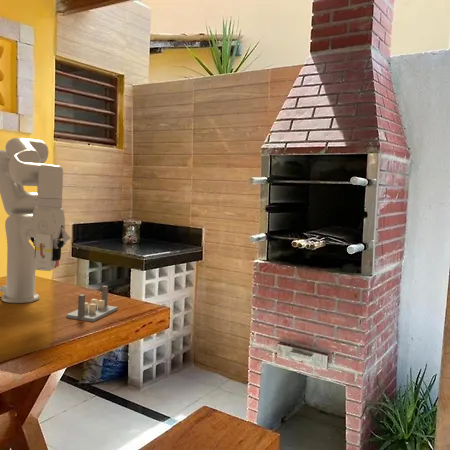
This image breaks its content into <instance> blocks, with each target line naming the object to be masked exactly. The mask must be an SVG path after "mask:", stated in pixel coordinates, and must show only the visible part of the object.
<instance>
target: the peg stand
mask: <svg viewBox="0 0 450 450" xmlns="http://www.w3.org/2000/svg"><path fill="white" fill-rule="evenodd" d="M108 293H109V286H108V285H102V286H101V299H99V300H98V298H91V299H90V303H89V302H86V295H85V294H82V293H81V294H79V295H78V296H77V299H78V300H77V301H78V303H77V309H76V310H74V311H71V312H69V313H67V314H66V315H65V316H66V317H65V318H67V319H74V320H80V321H86V322H96V321H97V320H100V319H102V318H104V317H106V316H108V315H109V314H111V313H114V312H115V311H118V310H119V308H118V306H113V305H108V295H109V294H108Z"/></svg>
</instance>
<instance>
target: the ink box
mask: <svg viewBox="0 0 450 450" xmlns="http://www.w3.org/2000/svg"><path fill="white" fill-rule="evenodd" d="M54 248H55V247H54V244H53V240H51V234H45V233H37V234H36V255H35V271H41V272H42V271H45V272H50V271H52V270H54V269H56V268H58V267H59V266H60V260H57V261H53V260H52V259H53V249H54Z"/></svg>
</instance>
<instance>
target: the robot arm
mask: <svg viewBox="0 0 450 450" xmlns="http://www.w3.org/2000/svg"><path fill="white" fill-rule="evenodd" d="M4 148H5V149H0V198H1V201H2V205H3V208H4V211H5V214H7V215H8V216H7V217H6V219H5V222H4V228H5V229H4V230H5V236H6V243H7V244H6V245H7V246H6V247H7V250H6V255H7V257H6V284H5V285H4V284H1V285H0V292H1V293H2V292H3V294H2V296H1V301H3V302H5V303H9V304H26V303H33V302H35V301H38V300H39V299H40V295H39V294H38V293H36V270H35V255H36V234H37V233H45V234H51V240H53V244H54V247H55V248H54V249H53V259H52V260H53V261H57V260H59V261H60V260H61V257H62V256H61V255H62V248H64V246H65V245H66V244H67V243H68V242H69V241H70V239H71V237H70V236H69V234H68V233H67V231H66V220H65V219H66V217H65V212H64V211H65V210H64V208H62V207H63V186H64V185H63V182H64V180H63V179H64V168H63V166H61V165H58V164H57V165H55V164H49V163H46V161H48V157H49V153H50V152H49V148H48V144H46V142H45V141H43V140H41V139H34V138H25V137H14V138H11V139H9V140H8V141H7V142H6V144H5V147H4ZM25 187H37V188H36V190H37V191H36V192H34V191H26V190H25ZM30 241H31V242H32V243H31V242H30Z"/></svg>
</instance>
